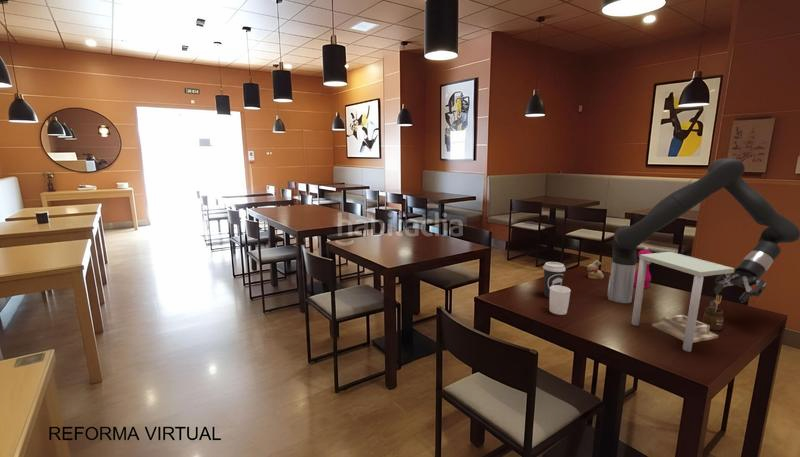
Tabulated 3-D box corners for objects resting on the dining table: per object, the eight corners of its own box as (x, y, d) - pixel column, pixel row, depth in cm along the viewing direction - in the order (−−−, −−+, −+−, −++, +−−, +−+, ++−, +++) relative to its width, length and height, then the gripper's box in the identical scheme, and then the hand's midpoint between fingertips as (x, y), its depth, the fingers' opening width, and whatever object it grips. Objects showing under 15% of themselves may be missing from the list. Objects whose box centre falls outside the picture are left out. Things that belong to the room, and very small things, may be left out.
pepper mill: (652, 289, 183) (658, 249, 179) (636, 288, 185) (641, 248, 181) (646, 284, 190) (651, 245, 186) (630, 283, 192) (635, 244, 188)
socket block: (679, 321, 149) (681, 311, 148) (718, 337, 136) (720, 327, 135) (652, 326, 145) (653, 316, 144) (688, 343, 132) (690, 332, 131)
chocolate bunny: (587, 274, 205) (589, 257, 203) (603, 277, 201) (606, 259, 199) (586, 277, 200) (588, 259, 199) (602, 280, 196) (604, 261, 194)
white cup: (566, 317, 152) (569, 293, 150) (546, 312, 156) (548, 289, 154) (569, 310, 159) (572, 287, 157) (549, 306, 163) (551, 284, 161)
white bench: (659, 318, 151) (669, 251, 146) (720, 345, 130) (735, 268, 125) (629, 323, 147) (638, 254, 142) (687, 352, 126) (701, 272, 120)
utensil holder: (699, 326, 145) (704, 296, 142) (704, 322, 148) (709, 292, 146) (718, 332, 140) (724, 301, 138) (723, 327, 144) (729, 297, 141)
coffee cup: (564, 294, 177) (567, 263, 174) (560, 301, 169) (563, 268, 166) (543, 290, 182) (545, 260, 179) (538, 296, 174) (541, 265, 171)
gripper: (730, 254, 150) (704, 284, 149) (773, 264, 137) (745, 298, 136) (737, 266, 153) (711, 296, 152) (780, 277, 139) (753, 310, 138)
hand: (727, 297), depth 144 cm, fingers open, 8 cm apart
